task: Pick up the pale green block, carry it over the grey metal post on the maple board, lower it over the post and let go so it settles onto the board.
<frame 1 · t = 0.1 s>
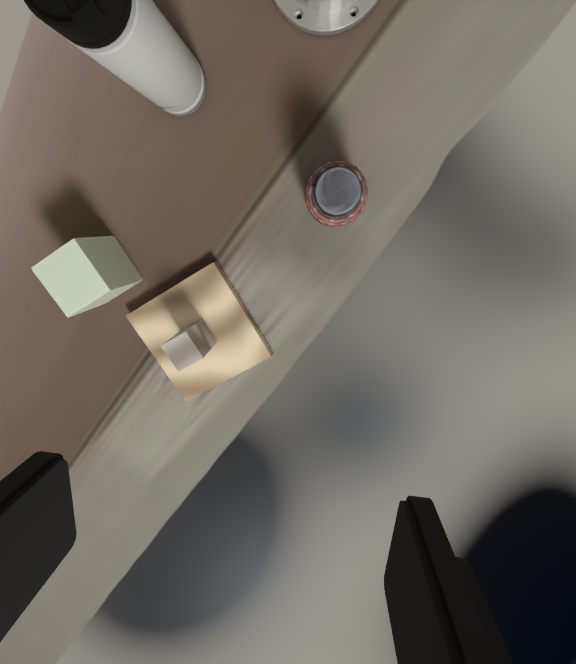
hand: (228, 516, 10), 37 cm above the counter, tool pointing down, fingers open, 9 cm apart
travel mug: (181, 87, 40), on the counter
supplement bottle: (333, 200, 42), on the counter
pale green block: (109, 270, 47), on the counter
post board: (202, 332, 48), on the counter
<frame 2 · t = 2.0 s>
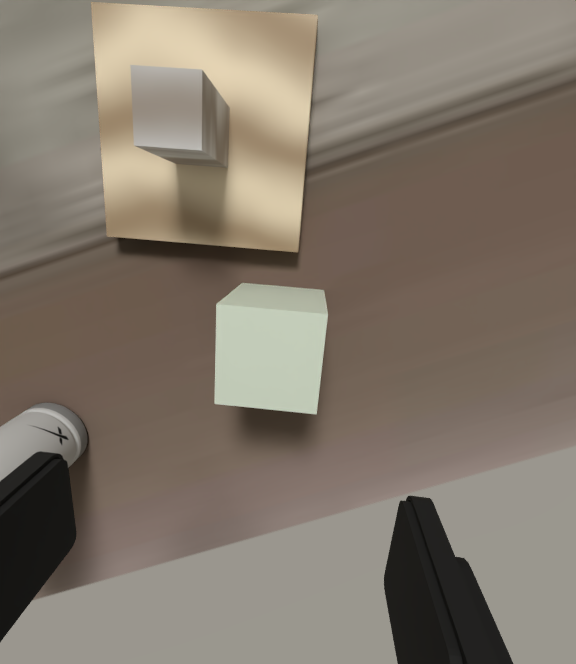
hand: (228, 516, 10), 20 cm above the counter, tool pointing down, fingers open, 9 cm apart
travel mug: (57, 429, 33), on the counter
pale green block: (279, 325, 29), on the counter
post board: (208, 141, 25), on the counter
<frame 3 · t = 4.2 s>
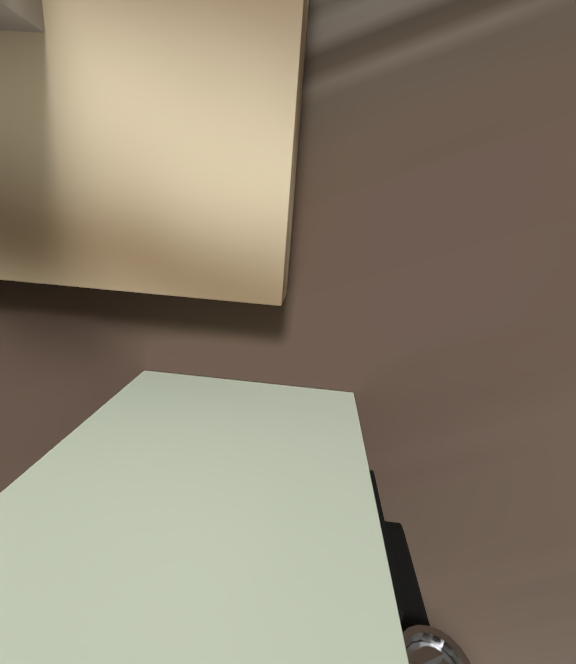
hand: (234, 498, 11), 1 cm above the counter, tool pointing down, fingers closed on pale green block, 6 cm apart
pale green block: (242, 470, 12), on the counter, touching gripper
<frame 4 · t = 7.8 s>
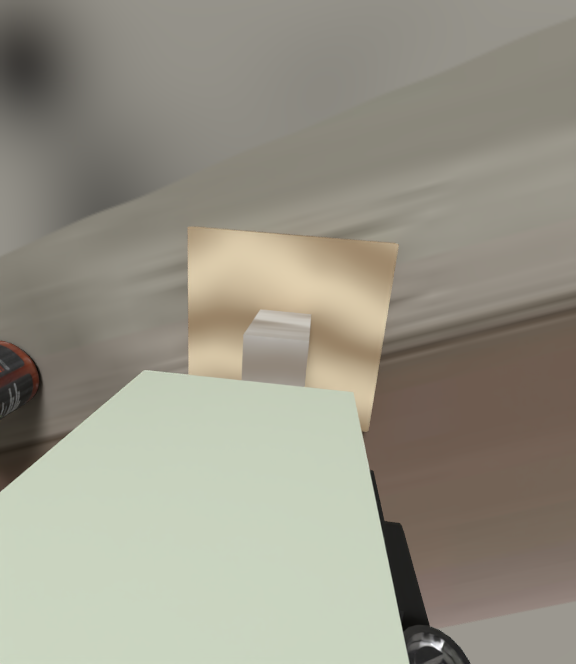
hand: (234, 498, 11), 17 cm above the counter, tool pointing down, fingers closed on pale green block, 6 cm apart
supplement bottle: (11, 370, 30), on the counter
pale green block: (243, 469, 12), point 16 cm above the counter, touching gripper
post board: (285, 330, 27), on the counter
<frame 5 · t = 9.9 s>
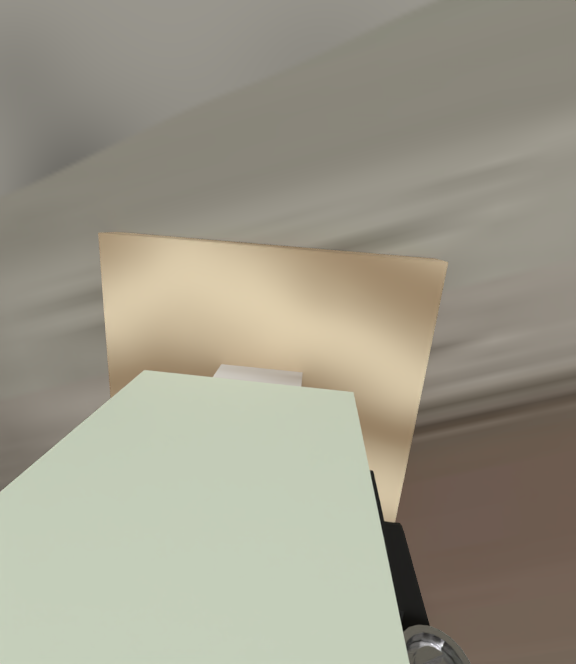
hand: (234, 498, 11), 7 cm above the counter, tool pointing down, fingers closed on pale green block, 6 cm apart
pale green block: (243, 469, 12), point 6 cm above the counter, touching gripper
post board: (264, 390, 18), on the counter
when the fingers open (4 cm above the counter, at t = 11.4 s): pale green block stays where it is, resting on post board.
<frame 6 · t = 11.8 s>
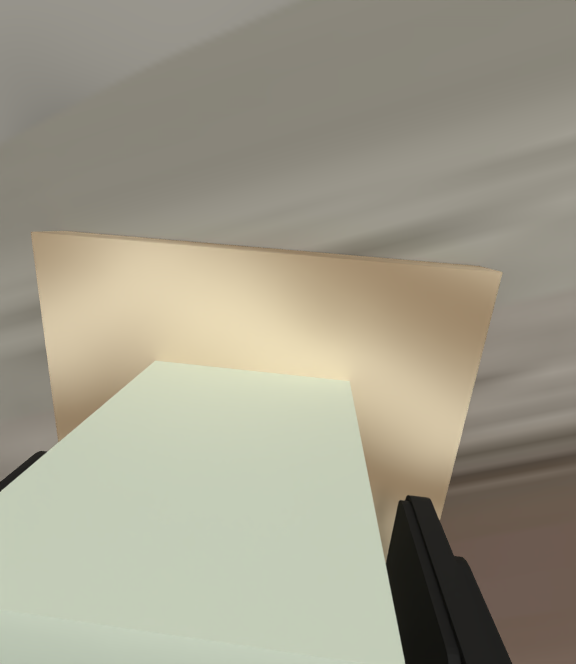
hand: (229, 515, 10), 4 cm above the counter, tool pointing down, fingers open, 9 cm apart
pale green block: (246, 454, 13), point 1 cm above the counter, touching post board
post board: (255, 430, 14), on the counter
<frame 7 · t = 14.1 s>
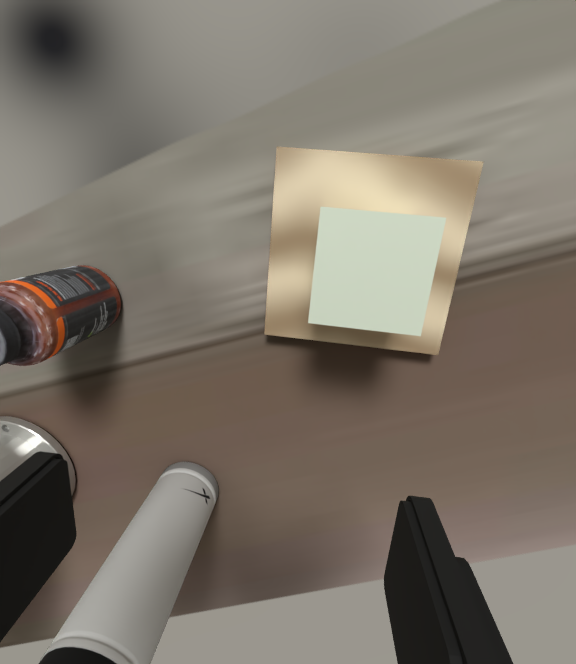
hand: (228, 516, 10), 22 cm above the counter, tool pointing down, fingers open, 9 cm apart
travel mug: (191, 482, 38), on the counter
supplement bottle: (94, 297, 32), on the counter
pale green block: (361, 257, 27), point 1 cm above the counter, touching post board
post board: (360, 255, 28), on the counter
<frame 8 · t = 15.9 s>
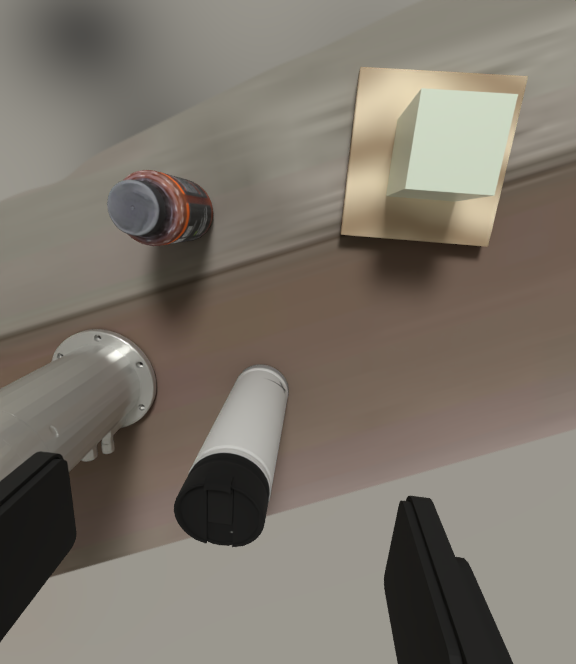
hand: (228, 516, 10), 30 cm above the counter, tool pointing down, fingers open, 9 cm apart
travel mug: (262, 386, 42), on the counter
supplement bottle: (187, 211, 37), on the counter
pale green block: (427, 161, 33), point 1 cm above the counter, touching post board
post board: (423, 163, 34), on the counter
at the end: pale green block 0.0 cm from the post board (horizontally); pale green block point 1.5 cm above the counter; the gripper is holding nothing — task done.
